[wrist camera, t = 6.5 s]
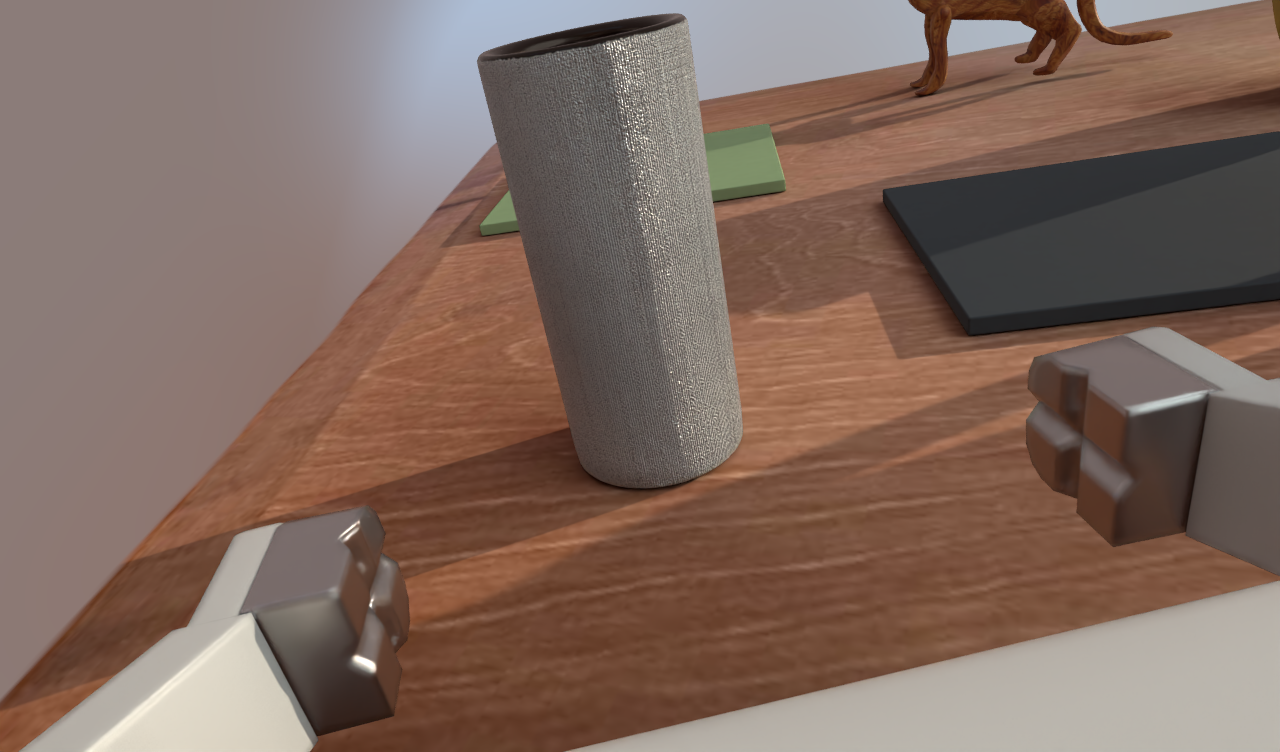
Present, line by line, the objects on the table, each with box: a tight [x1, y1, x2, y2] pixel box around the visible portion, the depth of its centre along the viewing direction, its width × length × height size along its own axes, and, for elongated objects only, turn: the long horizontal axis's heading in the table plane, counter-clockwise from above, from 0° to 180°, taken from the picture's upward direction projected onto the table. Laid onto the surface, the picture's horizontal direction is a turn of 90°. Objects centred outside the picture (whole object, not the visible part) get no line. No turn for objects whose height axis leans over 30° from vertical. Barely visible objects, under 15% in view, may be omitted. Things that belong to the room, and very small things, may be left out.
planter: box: [477, 14, 743, 488], centre depth 19 cm, size 4×4×10 cm
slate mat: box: [883, 131, 1280, 335], centre depth 29 cm, size 16×14×1 cm
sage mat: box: [479, 124, 786, 236], centre depth 47 cm, size 16×14×1 cm
